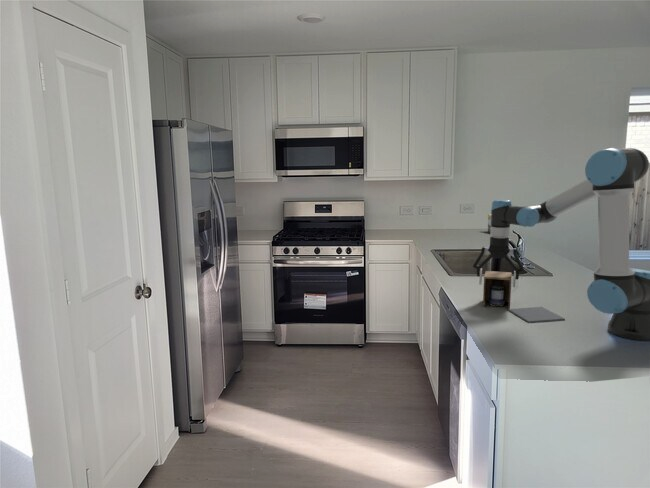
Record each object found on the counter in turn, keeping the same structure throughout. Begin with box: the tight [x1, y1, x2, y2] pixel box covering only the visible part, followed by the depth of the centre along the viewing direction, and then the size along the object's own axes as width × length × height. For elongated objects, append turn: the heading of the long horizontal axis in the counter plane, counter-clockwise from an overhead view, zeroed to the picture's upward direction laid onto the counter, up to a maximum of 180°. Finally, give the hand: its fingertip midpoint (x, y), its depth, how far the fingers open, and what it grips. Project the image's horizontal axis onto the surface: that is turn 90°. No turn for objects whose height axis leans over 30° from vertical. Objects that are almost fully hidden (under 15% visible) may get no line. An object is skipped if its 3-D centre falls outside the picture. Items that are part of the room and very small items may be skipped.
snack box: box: [487, 213, 491, 233], centre depth 381 cm, size 21×6×15 cm, turn 17°
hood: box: [482, 270, 513, 310], centre depth 196 cm, size 11×11×13 cm
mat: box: [507, 306, 566, 324], centre depth 182 cm, size 15×15×1 cm
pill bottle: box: [488, 279, 505, 307], centre depth 196 cm, size 6×6×11 cm
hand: (497, 285), depth 196 cm, fingers open, 13 cm apart
